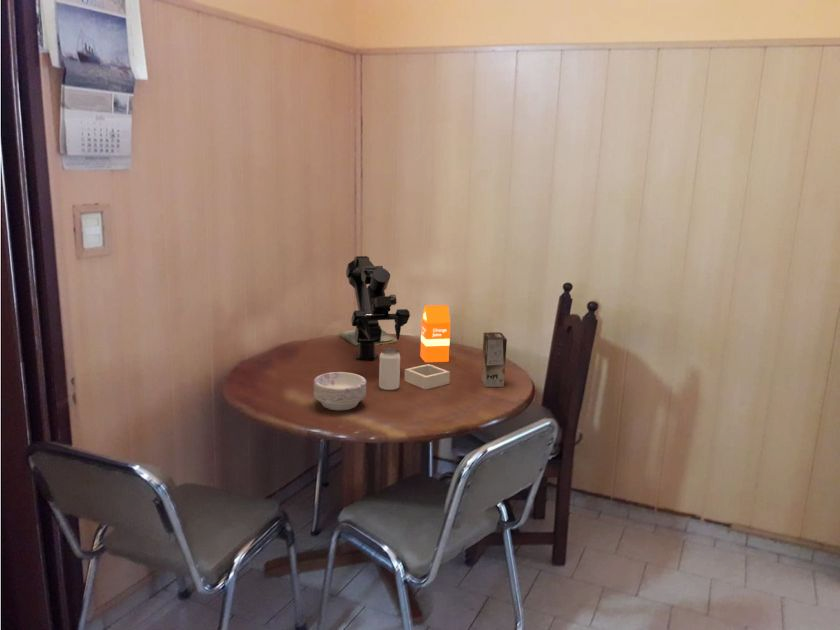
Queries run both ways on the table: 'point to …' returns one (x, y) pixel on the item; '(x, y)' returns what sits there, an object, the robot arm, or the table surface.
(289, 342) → the table surface
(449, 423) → the table surface
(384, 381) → the can
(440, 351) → the orange juice
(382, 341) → the dish towel
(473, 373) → the table surface
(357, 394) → the paper bowls
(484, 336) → the coffee box
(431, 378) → the collar
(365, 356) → the robot arm
